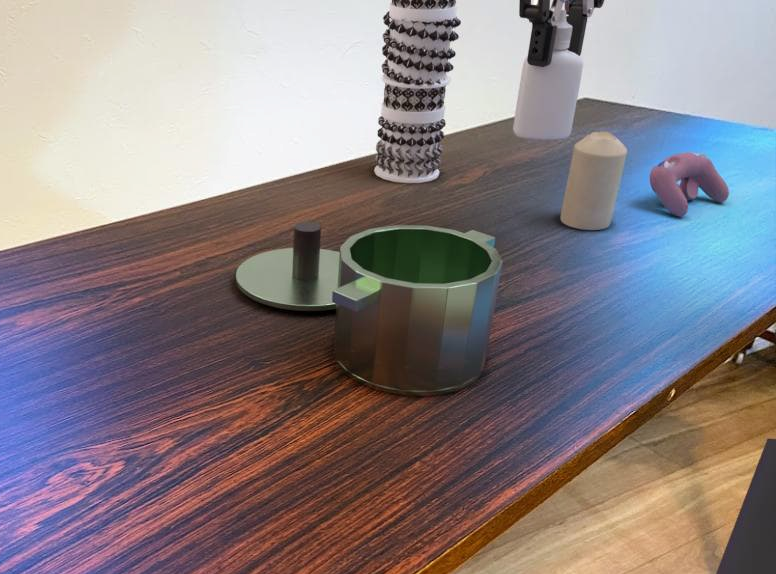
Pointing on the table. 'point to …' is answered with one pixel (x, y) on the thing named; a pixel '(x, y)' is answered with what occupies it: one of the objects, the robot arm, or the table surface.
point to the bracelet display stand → (415, 88)
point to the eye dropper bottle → (549, 91)
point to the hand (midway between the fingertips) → (553, 60)
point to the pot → (415, 308)
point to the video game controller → (686, 181)
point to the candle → (593, 181)
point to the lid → (293, 273)
